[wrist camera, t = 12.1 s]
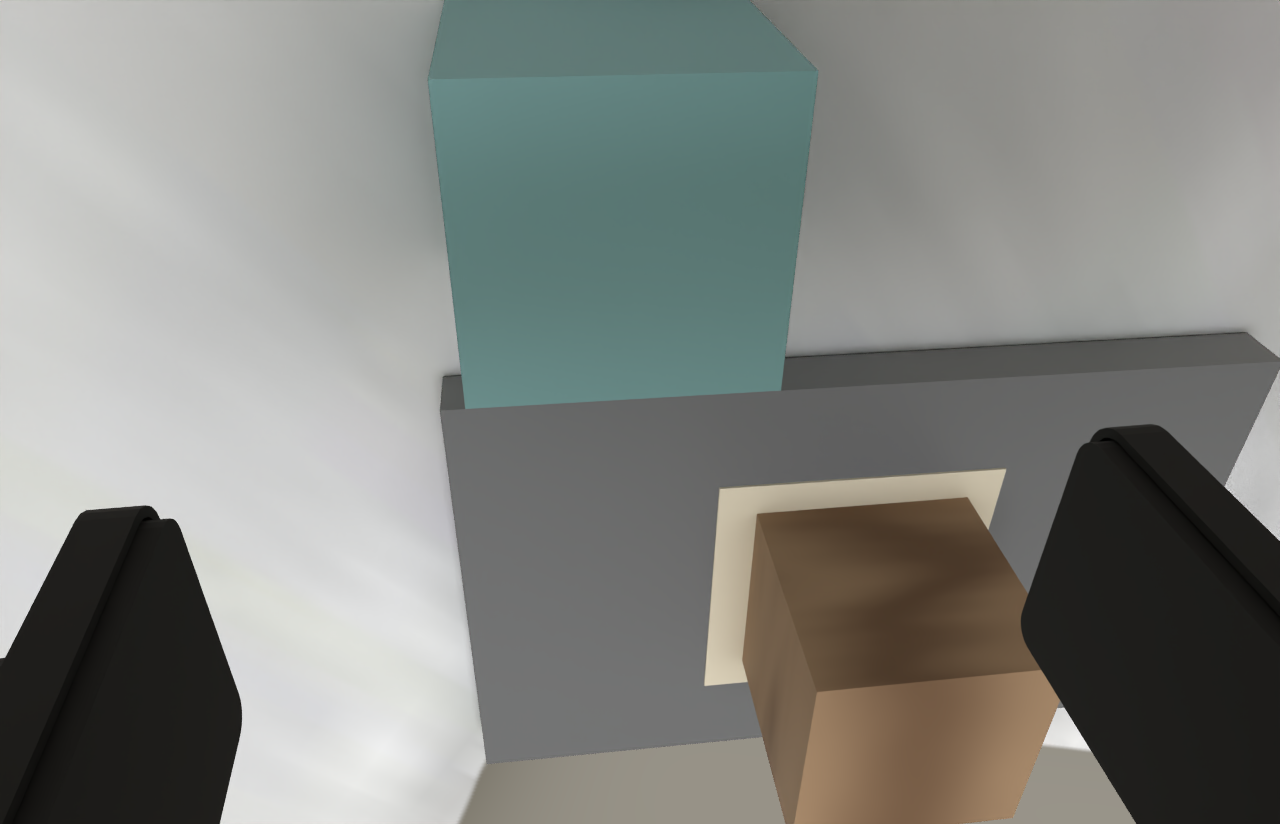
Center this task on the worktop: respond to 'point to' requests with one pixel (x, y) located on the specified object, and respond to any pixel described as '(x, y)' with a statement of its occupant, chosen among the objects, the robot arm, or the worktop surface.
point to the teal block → (619, 195)
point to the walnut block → (892, 665)
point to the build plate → (767, 509)
